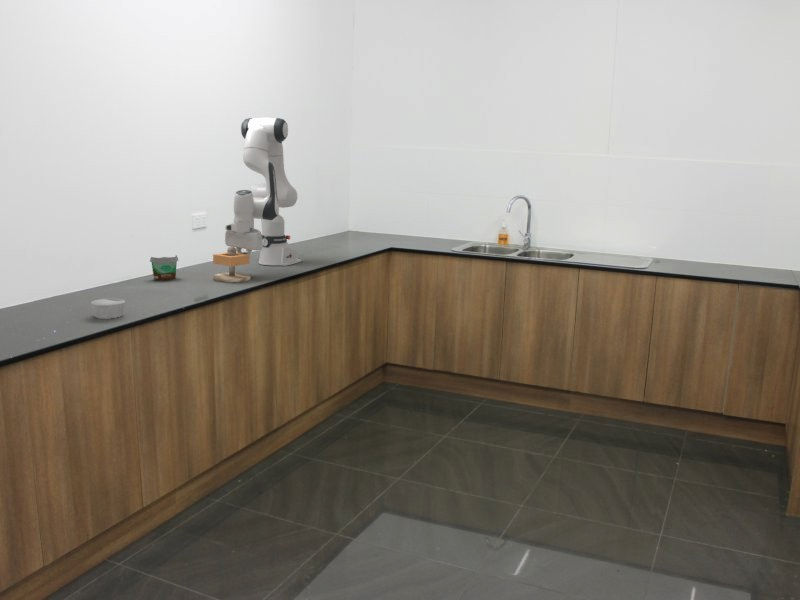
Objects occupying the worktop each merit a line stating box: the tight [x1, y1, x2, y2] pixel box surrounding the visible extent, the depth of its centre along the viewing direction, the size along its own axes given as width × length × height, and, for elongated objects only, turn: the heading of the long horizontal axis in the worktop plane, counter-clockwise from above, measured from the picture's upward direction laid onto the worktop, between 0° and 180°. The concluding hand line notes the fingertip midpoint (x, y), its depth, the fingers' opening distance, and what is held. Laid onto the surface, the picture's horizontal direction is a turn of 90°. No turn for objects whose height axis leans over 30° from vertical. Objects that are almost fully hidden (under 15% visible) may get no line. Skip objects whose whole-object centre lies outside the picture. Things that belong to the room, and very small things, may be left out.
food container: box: [149, 254, 179, 282], centre depth 337 cm, size 12×6×10 cm, turn 130°
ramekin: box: [90, 298, 126, 320], centre depth 271 cm, size 11×11×5 cm
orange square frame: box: [212, 251, 251, 267], centre depth 343 cm, size 15×11×4 cm
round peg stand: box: [213, 246, 252, 284], centre depth 342 cm, size 16×16×14 cm
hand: (244, 258), depth 348 cm, fingers closed on orange square frame, 3 cm apart
